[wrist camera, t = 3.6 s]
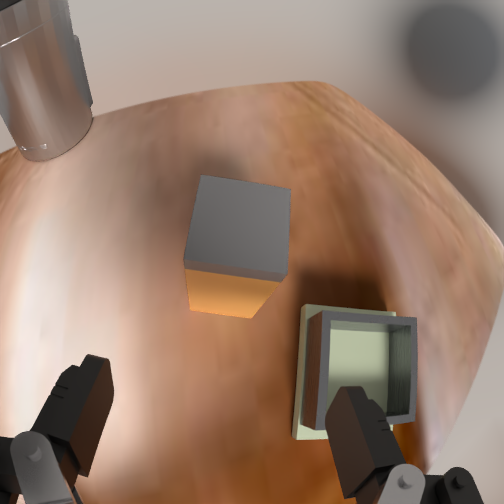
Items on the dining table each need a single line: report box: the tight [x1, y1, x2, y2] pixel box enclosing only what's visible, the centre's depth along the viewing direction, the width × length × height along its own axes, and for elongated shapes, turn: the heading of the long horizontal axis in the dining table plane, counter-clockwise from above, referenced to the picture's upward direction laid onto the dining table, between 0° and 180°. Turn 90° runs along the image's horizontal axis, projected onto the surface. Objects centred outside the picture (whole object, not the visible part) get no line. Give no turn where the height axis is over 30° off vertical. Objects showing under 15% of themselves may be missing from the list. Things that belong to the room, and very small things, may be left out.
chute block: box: [184, 175, 291, 318], centre depth 19 cm, size 4×4×10 cm
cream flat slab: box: [292, 304, 396, 440], centre depth 21 cm, size 10×8×1 cm
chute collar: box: [300, 310, 418, 431], centre depth 19 cm, size 8×8×3 cm
